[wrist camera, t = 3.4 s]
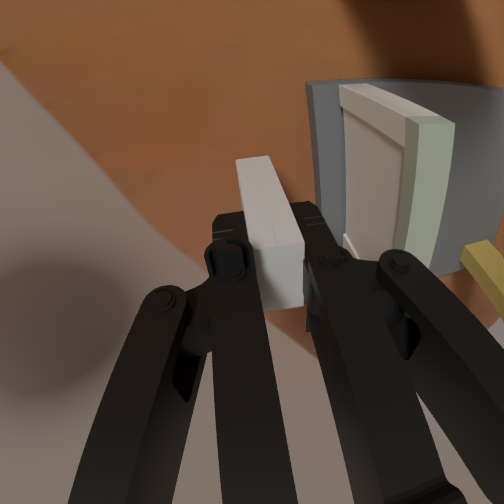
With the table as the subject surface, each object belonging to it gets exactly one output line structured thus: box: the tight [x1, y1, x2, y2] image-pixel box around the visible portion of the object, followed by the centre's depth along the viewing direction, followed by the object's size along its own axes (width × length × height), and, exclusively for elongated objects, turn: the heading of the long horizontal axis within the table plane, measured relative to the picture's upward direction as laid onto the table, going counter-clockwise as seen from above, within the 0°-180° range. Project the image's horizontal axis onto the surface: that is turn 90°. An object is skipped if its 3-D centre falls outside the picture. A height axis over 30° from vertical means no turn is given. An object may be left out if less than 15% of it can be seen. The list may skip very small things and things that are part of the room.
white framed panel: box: [338, 83, 455, 269], centre depth 13 cm, size 10×2×7 cm, turn 9°
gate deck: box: [305, 78, 504, 392], centre depth 15 cm, size 17×16×11 cm
